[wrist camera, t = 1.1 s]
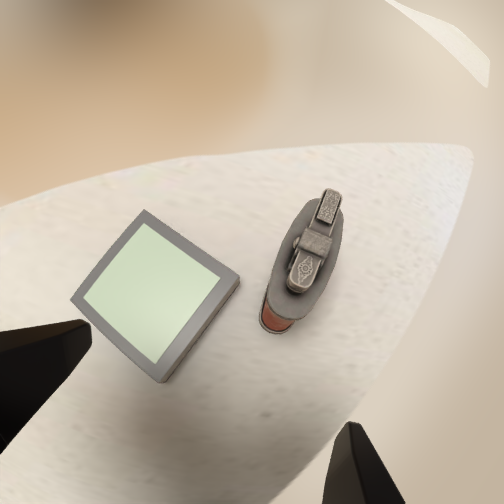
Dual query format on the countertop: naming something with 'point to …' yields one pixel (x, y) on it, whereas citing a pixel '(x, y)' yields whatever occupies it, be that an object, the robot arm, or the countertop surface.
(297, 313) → the lighter
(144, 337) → the baseplate
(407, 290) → the countertop surface
